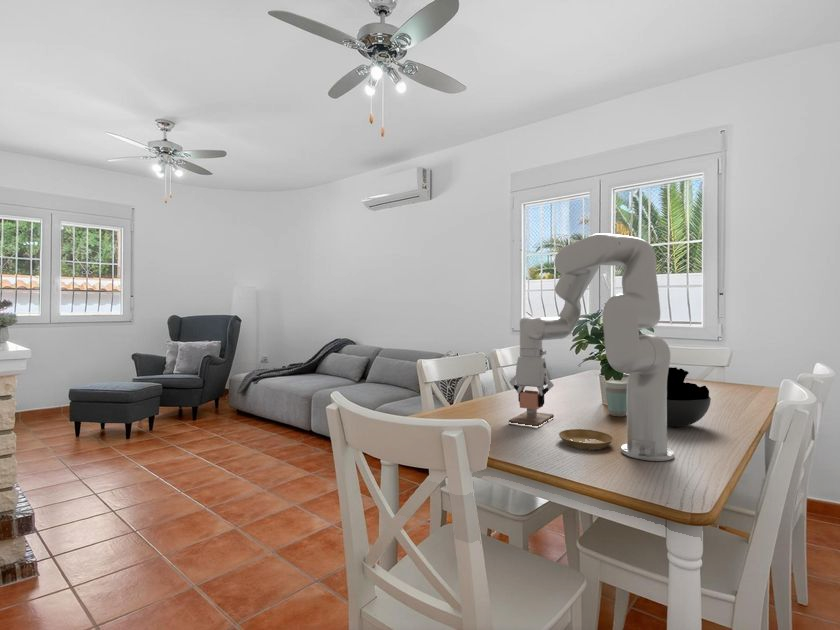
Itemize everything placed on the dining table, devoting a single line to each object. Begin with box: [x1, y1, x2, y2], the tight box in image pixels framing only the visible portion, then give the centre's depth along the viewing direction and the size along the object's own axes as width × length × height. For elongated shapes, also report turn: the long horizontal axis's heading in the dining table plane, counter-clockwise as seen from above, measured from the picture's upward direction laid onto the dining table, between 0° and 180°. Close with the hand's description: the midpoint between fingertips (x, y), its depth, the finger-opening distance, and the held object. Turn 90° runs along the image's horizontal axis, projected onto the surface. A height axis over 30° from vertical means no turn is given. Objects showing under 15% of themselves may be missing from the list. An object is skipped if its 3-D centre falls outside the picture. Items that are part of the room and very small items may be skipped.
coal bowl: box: [667, 366, 712, 427], centre depth 149 cm, size 20×20×19 cm
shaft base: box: [508, 408, 555, 426], centre depth 157 cm, size 16×10×5 cm, turn 145°
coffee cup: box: [604, 379, 627, 417], centre depth 165 cm, size 8×9×12 cm
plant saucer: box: [558, 428, 615, 450], centre depth 130 cm, size 15×15×3 cm
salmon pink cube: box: [519, 389, 544, 411], centre depth 157 cm, size 6×6×6 cm
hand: (531, 404), depth 157 cm, fingers closed on salmon pink cube, 6 cm apart
